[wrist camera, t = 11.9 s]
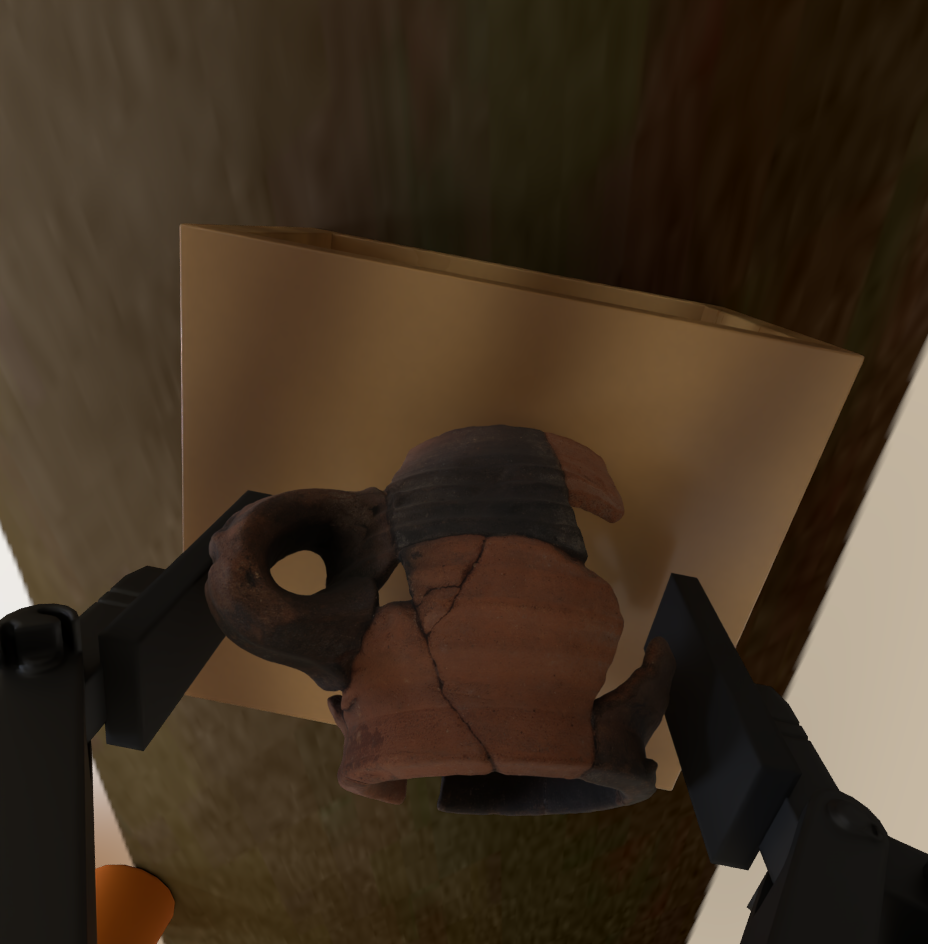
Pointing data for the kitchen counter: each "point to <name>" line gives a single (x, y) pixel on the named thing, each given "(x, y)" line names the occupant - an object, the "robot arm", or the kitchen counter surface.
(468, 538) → the pottery mug
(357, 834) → the kitchen counter surface
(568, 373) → the tan open box
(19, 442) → the kitchen counter surface
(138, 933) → the spray bottle
